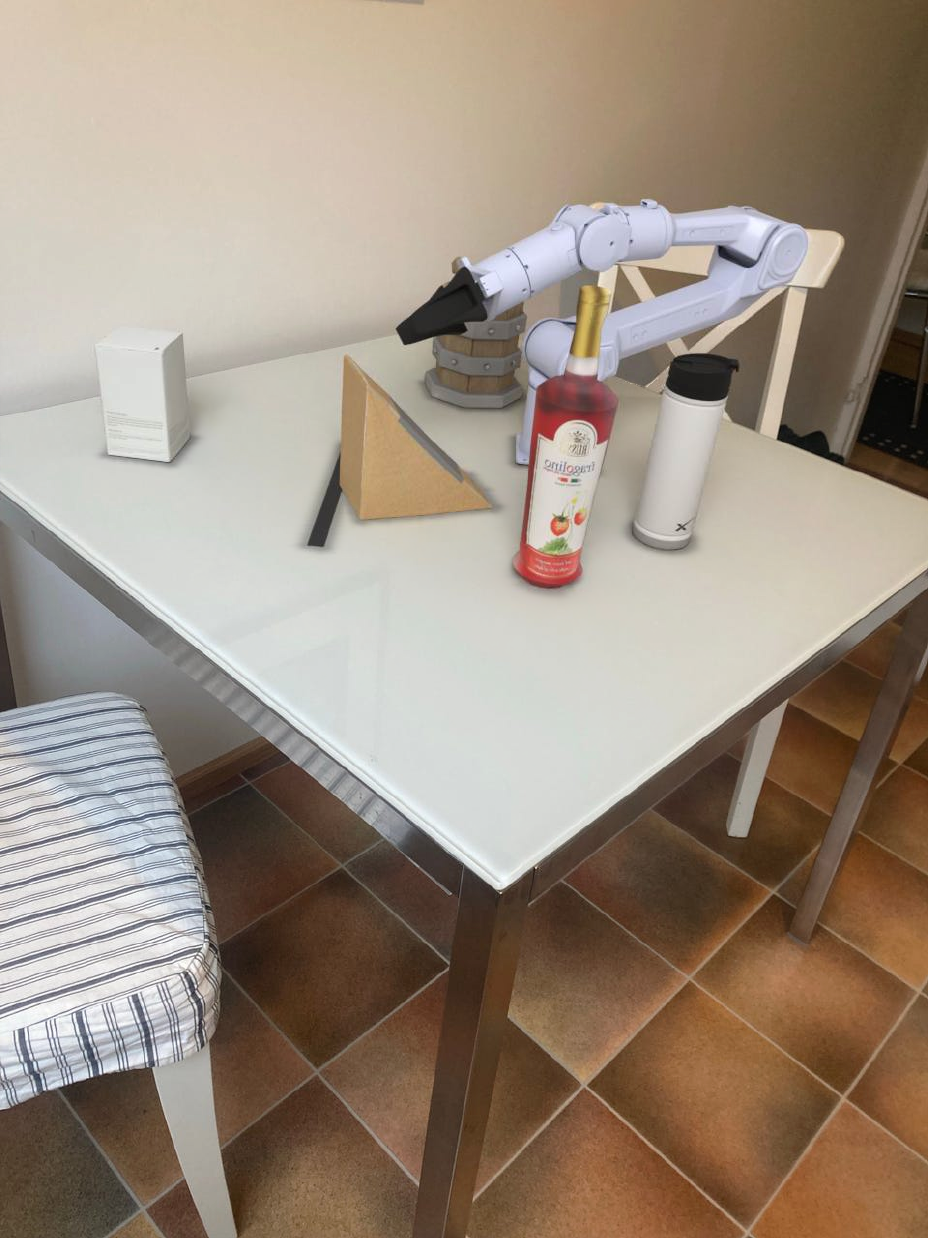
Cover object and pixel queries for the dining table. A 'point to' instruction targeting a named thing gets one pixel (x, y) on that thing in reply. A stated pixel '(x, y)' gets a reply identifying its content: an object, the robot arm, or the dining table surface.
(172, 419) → the white packaging box
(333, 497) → the tape line
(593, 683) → the dining table surface
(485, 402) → the tankard
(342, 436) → the sandwich container
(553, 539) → the liquor
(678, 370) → the travel mug
